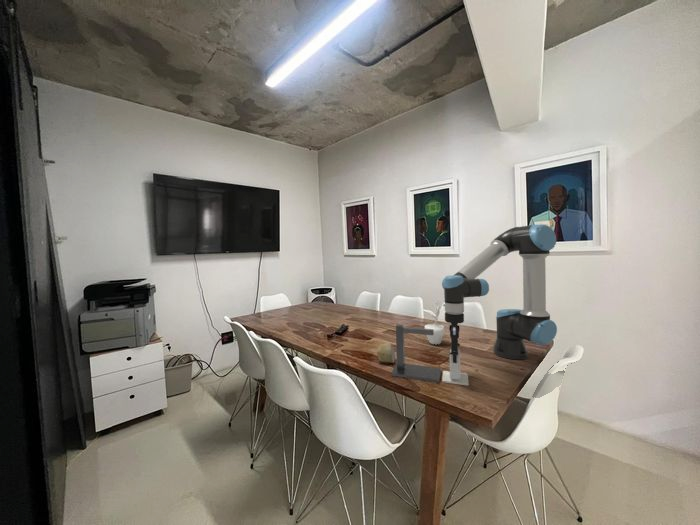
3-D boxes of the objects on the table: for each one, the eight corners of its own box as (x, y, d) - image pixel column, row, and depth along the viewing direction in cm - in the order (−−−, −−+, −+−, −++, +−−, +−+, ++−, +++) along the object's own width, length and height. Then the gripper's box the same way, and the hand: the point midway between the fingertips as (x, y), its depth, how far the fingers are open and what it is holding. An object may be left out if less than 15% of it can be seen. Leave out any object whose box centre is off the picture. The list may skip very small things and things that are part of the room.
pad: (467, 375, 118) (467, 373, 118) (468, 385, 108) (468, 384, 108) (443, 371, 121) (443, 370, 121) (442, 381, 112) (442, 380, 112)
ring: (460, 370, 118) (459, 350, 118) (460, 379, 110) (460, 357, 110) (450, 369, 120) (450, 349, 119) (449, 378, 111) (449, 356, 111)
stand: (441, 370, 123) (440, 324, 122) (439, 382, 112) (438, 332, 111) (397, 365, 130) (396, 321, 129) (391, 375, 119) (390, 328, 118)
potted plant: (447, 341, 162) (446, 299, 161) (442, 347, 152) (441, 303, 151) (426, 338, 169) (425, 298, 168) (420, 344, 159) (419, 301, 158)
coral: (398, 352, 127) (379, 342, 130) (390, 370, 130) (371, 360, 133) (402, 344, 136) (384, 335, 139) (394, 361, 139) (377, 351, 142)
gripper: (445, 307, 125) (446, 355, 126) (443, 317, 105) (444, 375, 106) (463, 307, 123) (464, 356, 123) (464, 319, 103) (465, 377, 103)
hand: (455, 365), depth 115 cm, fingers closed on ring, 9 cm apart
